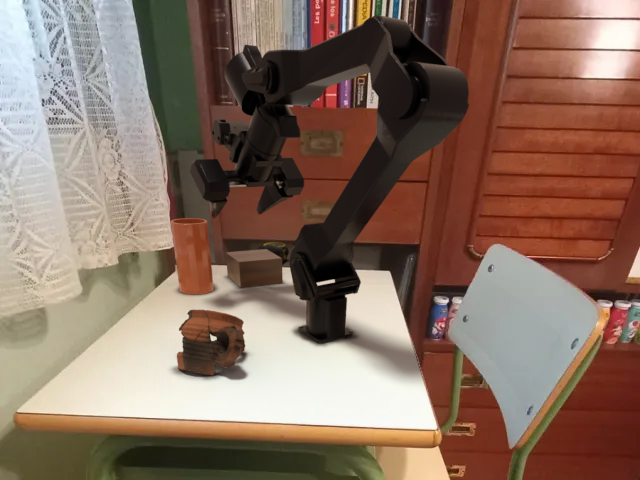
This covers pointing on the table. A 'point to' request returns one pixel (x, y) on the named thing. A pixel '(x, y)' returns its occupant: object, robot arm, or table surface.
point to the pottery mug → (198, 342)
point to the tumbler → (192, 255)
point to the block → (254, 268)
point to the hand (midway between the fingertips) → (236, 214)
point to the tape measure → (276, 249)
